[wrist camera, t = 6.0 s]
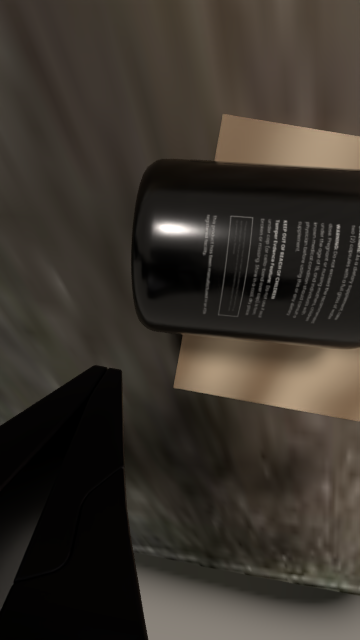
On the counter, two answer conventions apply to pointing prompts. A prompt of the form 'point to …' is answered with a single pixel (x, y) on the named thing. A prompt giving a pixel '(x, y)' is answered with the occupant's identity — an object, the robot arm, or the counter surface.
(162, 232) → the supplement bottle
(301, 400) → the cork mat
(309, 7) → the counter surface
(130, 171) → the counter surface
